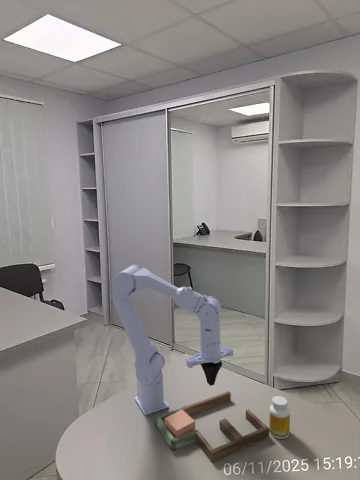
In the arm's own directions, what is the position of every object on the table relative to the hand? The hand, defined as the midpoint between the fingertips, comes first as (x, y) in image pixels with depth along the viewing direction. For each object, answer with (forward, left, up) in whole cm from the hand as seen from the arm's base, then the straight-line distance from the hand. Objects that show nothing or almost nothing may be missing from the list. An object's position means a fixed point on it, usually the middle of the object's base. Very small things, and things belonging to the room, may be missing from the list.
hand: (210, 383), depth 102 cm
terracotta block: (+3, -12, -10) cm, 16 cm away
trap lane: (+6, -4, -10) cm, 12 cm away
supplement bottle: (+15, +12, -10) cm, 22 cm away
